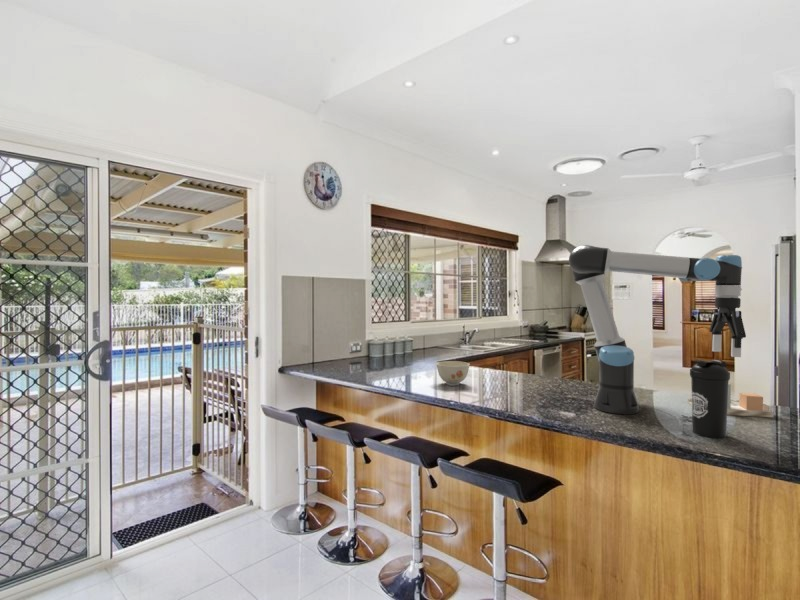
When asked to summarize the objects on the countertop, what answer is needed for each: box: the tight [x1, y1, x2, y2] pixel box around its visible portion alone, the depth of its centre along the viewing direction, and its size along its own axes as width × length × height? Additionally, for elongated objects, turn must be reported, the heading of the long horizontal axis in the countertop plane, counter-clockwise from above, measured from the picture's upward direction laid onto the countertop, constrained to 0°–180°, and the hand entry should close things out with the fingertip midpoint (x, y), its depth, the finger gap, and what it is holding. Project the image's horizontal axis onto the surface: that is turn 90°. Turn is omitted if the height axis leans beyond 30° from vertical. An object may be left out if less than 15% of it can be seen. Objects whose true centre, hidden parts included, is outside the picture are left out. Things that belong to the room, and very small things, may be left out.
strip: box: [727, 382, 773, 412], centre depth 156 cm, size 16×6×10 cm, turn 76°
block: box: [738, 392, 764, 411], centre depth 155 cm, size 5×5×5 cm
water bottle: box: [689, 359, 731, 439], centre depth 133 cm, size 10×10×23 cm
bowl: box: [436, 360, 470, 387], centre depth 206 cm, size 16×16×10 cm
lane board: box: [687, 397, 775, 418], centre depth 160 cm, size 21×16×2 cm
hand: (725, 354), depth 158 cm, fingers open, 13 cm apart
